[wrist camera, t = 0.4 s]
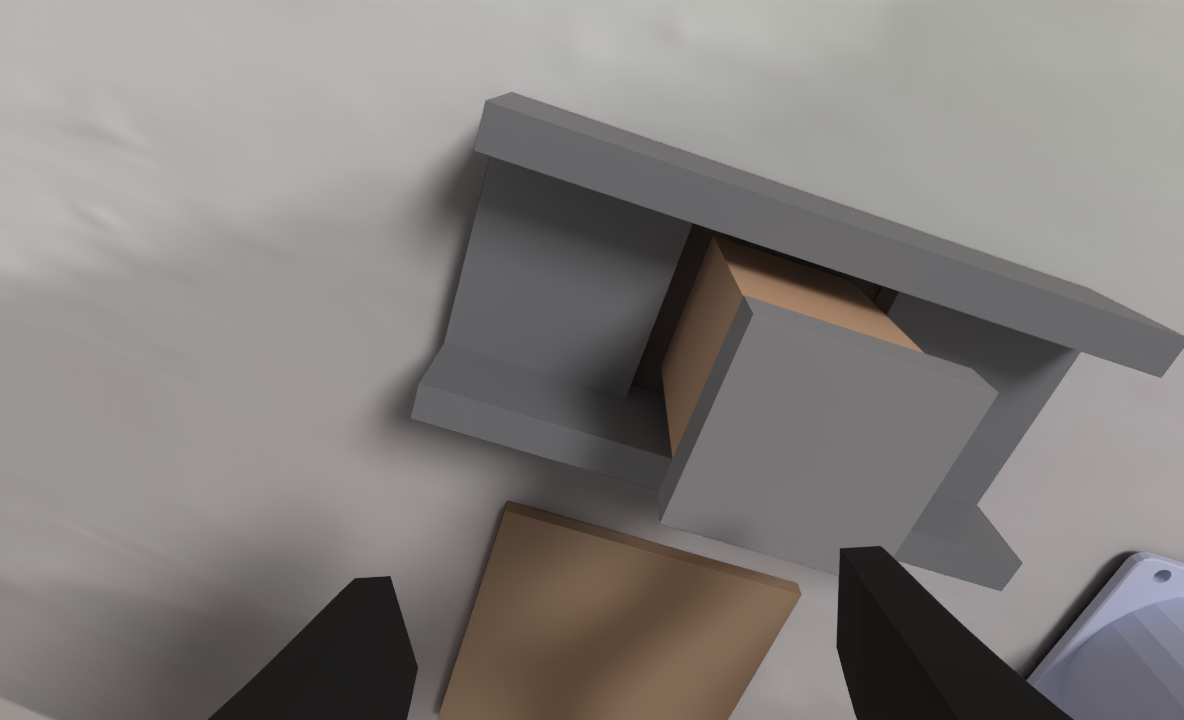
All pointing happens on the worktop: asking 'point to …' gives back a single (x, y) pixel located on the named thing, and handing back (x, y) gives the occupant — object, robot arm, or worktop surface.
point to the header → (641, 279)
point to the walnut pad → (609, 628)
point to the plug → (804, 413)
